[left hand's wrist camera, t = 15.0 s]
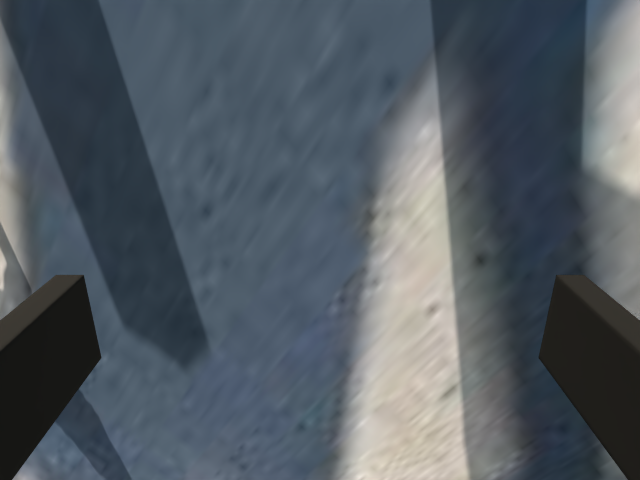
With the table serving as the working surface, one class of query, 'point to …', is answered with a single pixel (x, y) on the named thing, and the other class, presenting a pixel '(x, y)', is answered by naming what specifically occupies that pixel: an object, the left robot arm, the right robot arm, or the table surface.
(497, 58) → the table surface
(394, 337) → the table surface
